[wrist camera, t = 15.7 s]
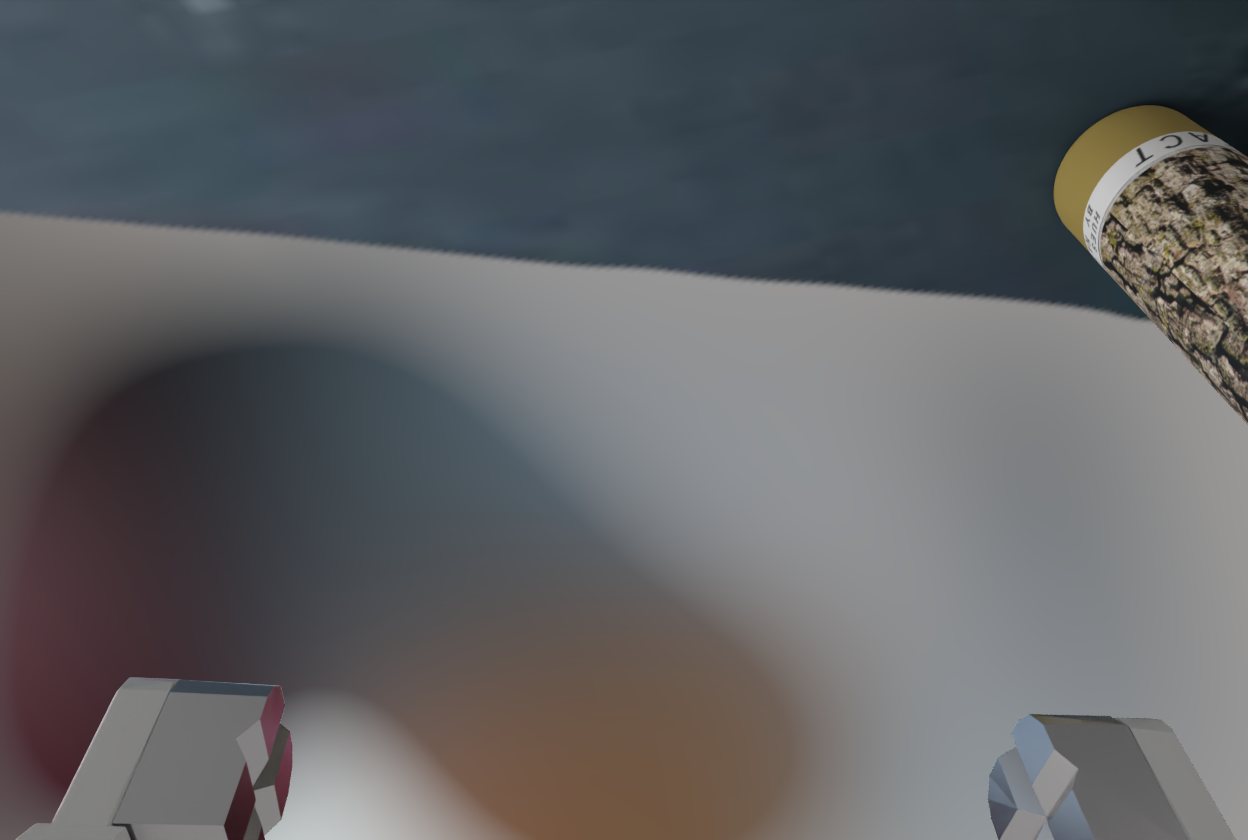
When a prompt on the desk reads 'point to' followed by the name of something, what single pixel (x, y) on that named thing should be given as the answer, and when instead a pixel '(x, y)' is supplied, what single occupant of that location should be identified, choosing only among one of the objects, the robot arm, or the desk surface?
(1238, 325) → the wooden cylinder
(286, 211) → the desk surface
